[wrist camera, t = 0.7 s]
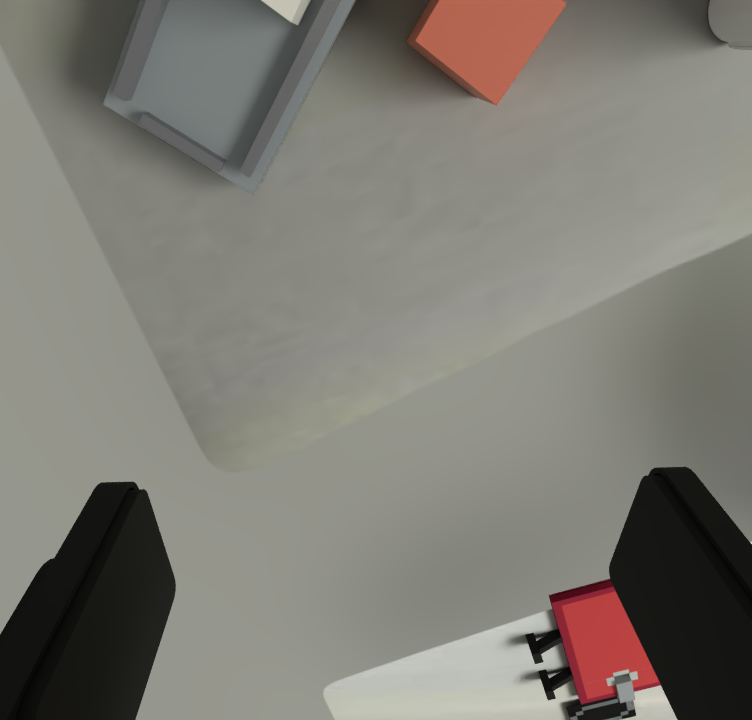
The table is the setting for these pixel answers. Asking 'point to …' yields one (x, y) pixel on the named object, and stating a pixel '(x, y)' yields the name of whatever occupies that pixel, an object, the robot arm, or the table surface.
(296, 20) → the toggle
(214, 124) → the grey tray
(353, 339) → the table surface
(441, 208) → the table surface
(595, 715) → the red board with handle
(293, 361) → the table surface
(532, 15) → the red cube
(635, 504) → the robot arm
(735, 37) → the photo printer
